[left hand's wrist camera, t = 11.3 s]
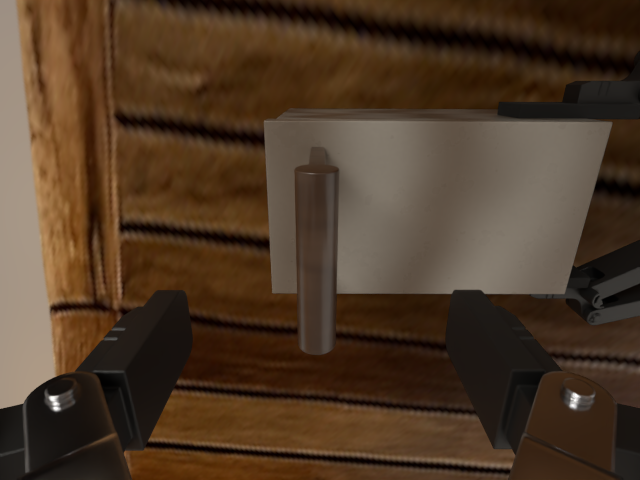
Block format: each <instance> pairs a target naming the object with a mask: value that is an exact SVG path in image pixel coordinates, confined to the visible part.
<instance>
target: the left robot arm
mask: <svg viewBox="0 0 640 480" xmlns="http://www.w3.org/2000/svg"><path fill="white" fill-rule="evenodd" d="M192 339H193V337H192V328H191V322H190V315H189V308H188V302H187V296H186V293H185V292H184V291H183V290H157V291H156V292H155V293H154V294H153V295H152V297H151V298H150V299H149V300H148V301H147V303H146V304H145V305H144V306H143V307H137V308H135V309H134V310H132V311H130V312H129V313H127V314H126V315H124V316H122V317H121V319H120V320H119V321H118V322H117V323H116V324H115V326H114V327H113V328H112V331H109V332H108V334H107V335H106V336H105V337H104V340H102V341H101V342H100V343H99V344H98V345H97V346H96V347H95V349H94V350H93V351H92V352H91V353H90V354H89V356H88V357H87V358H86V359H85V360H84V361H83V363H82V364H81V365H80V366H79V367H78V368H77V369H76V371H75V372H70V373H66V374H63V375H59V376H57V377H54V378H52V379H50V380H48V381H46V382H45V383H43V384H42V385H40V386H39V387H37V388H36V389H35V390H34V391H33V392H31V393H30V395H29V396H28V397H27V399H26V400H25V402H24V404H20V405H16V406H12V407H7V408H3V409H0V480H132V478H131V475H130V472H129V469H128V466H127V462H126V459H125V456H124V451H125V450H144V448H145V446H146V444H147V442H148V440H149V438H150V436H151V434H152V431H153V429H154V427H155V425H156V423H157V421H158V419H159V417H160V415H161V413H162V411H163V409H164V407H165V405H166V403H167V401H168V399H169V397H170V395H171V393H172V390H173V388H174V386H175V384H176V382H177V380H178V378H179V376H180V374H181V372H182V370H183V368H184V366H185V364H186V362H187V360H188V358H189V355H190V353H191V349H192ZM446 348H447V352H448V355H449V357H450V359H451V361H452V363H453V365H454V367H455V369H456V371H457V373H458V376H459V378H460V380H461V382H462V384H463V386H464V388H465V390H466V392H467V394H468V396H469V398H470V400H471V403H472V405H473V407H474V409H475V411H476V413H477V415H478V417H479V419H480V421H481V423H482V425H483V427H484V429H485V432H486V434H487V436H488V438H489V440H490V442H491V444H492V446H493V448H494V449H512V450H513V452H514V453H515V455H516V456H515V459H514V462H513V466H512V469H511V472H510V475H509V478H508V480H640V408H636V407H631V406H627V405H622V404H618V403H616V402H615V400H614V398H613V397H612V396H611V395H610V393H609V392H608V391H606V390H605V389H604V388H603V387H601V386H600V385H599V384H597V383H595V382H594V381H592V380H590V379H588V378H586V377H583V376H581V375H577V374H574V373H570V372H564V371H562V370H561V369H560V367H559V366H558V365H557V364H556V363H555V362H554V360H553V359H552V358H551V357H550V356H549V355H548V353H547V352H546V351H545V350H544V349H543V348H542V346H541V345H540V344H539V343H538V342H537V341H536V340H534V338H533V336H532V335H531V334H530V332H529V331H528V330H525V327H524V325H523V324H522V323H521V322H520V321H519V320H518V318H517V317H516V316H515V315H513V314H512V313H510V312H508V311H507V310H505V309H504V308H502V307H501V306H494V305H493V304H492V302H491V301H490V300H489V299H488V297H487V296H486V295H485V294H484V292H483V291H482V290H454V291H453V293H452V295H451V301H450V308H449V315H448V321H447V328H446Z"/></svg>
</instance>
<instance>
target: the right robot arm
mask: <svg viewBox="0 0 640 480" xmlns="http://www.w3.org/2000/svg"><path fill="white" fill-rule="evenodd" d="M634 66H635V68H634V70H633V71H632V73H631V74H630V75H629V76H628V77H627V78H625V79H624V80H621V81H575V82H573V83H570V84H567V85H566V88H565V93H564V97H563V101H562V102H499V107H498V113H497V115H501V116H507V117H514V118H554V119H640V51H639V52H638V53H637V55H636V56H635V59H634ZM529 295H530V296H532V297H535V298H566V304H567V305H568V306H570V307H571V308H572V309H573V310H574V311H575V312H576V313H577V314H578V315H580V316H581V317H582V318H583V319H584V320H585V321H587V322H588V323H589V324H590V325H599V324H603V323H608V322H613V321H617V320H622V319H627V318H631V317H636V316H640V240H638V241H636V242H634V243H632V244H629V245H627V246H625V247H622V248H620V249H618V250H615V251H613V252H611V253H609V254H606V255H604V256H602V257H599V258H597V259H595V260H593V261H590V262H588V263H586V264H583V265H581V266H579V267H577V268H576V267H575V266H572V269H571V273H570V276H569V280H568V284H567V287H566V291H565V294H529Z"/></svg>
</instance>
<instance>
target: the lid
mask: <svg viewBox="0 0 640 480" xmlns="http://www.w3.org/2000/svg"><path fill="white" fill-rule="evenodd" d="M612 124H613V123H612V122H608V121H600V120H426V119H267V120H265V121H264V134H265V154H266V174H267V194H268V215H269V235H270V255H271V275H272V293H297V315H298V345H299V347H300V349H301V350H302V351H304V352H306V353H308V354H312V355H321V354H325V353H328V352H330V351H331V350H332V349H333V348H334V346H335V344H336V302H337V294H452V293H453V291H454V290H482V291H483V292H484V294H565V291H566V287H567V284H568V280H569V276H570V273H571V269H572V266H573V262H574V259H575V255H576V252H577V248H578V244H579V241H580V237H581V234H582V230H583V227H584V223H585V220H586V216H587V213H588V209H589V205H590V202H591V198H592V195H593V191H594V188H595V184H596V181H597V177H598V173H599V170H600V166H601V163H602V159H603V156H604V152H605V149H606V145H607V141H608V138H609V134H610V131H611V127H612Z"/></svg>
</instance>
